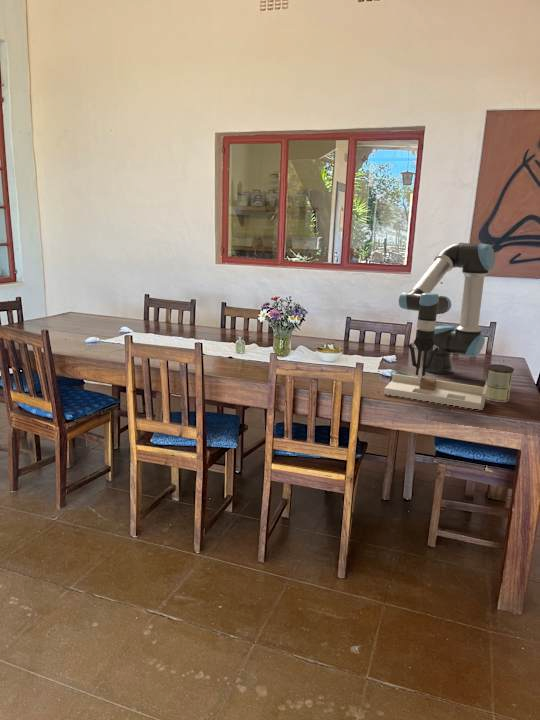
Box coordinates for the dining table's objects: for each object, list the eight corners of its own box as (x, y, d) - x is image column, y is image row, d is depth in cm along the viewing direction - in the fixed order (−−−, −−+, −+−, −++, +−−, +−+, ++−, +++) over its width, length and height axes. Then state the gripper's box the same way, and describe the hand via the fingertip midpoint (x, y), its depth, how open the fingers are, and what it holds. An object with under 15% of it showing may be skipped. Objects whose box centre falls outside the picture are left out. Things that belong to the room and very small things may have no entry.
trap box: (391, 386, 239) (393, 371, 237) (485, 401, 223) (487, 385, 221) (384, 394, 226) (385, 379, 224) (482, 411, 210) (485, 394, 208)
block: (421, 385, 231) (422, 377, 230) (435, 388, 228) (436, 379, 227) (419, 388, 226) (420, 379, 225) (433, 390, 224) (434, 382, 223)
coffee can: (479, 394, 232) (483, 363, 228) (502, 395, 232) (506, 364, 229) (489, 402, 222) (494, 370, 218) (513, 402, 222) (518, 370, 219)
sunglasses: (392, 377, 254) (395, 368, 253) (423, 385, 248) (425, 376, 247) (385, 384, 242) (387, 374, 241) (417, 393, 236) (419, 382, 234)
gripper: (408, 329, 222) (402, 382, 228) (440, 332, 217) (433, 387, 223) (411, 326, 229) (406, 378, 235) (442, 330, 224) (436, 382, 229)
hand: (419, 382), depth 229 cm, fingers closed
